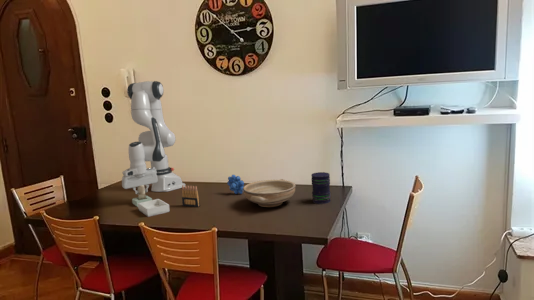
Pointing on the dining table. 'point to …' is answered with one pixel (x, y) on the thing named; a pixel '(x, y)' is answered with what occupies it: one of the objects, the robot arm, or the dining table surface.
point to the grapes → (235, 184)
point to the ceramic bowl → (269, 192)
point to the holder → (136, 200)
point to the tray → (153, 207)
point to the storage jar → (321, 188)
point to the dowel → (141, 192)
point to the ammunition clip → (190, 196)
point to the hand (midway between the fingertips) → (141, 192)
